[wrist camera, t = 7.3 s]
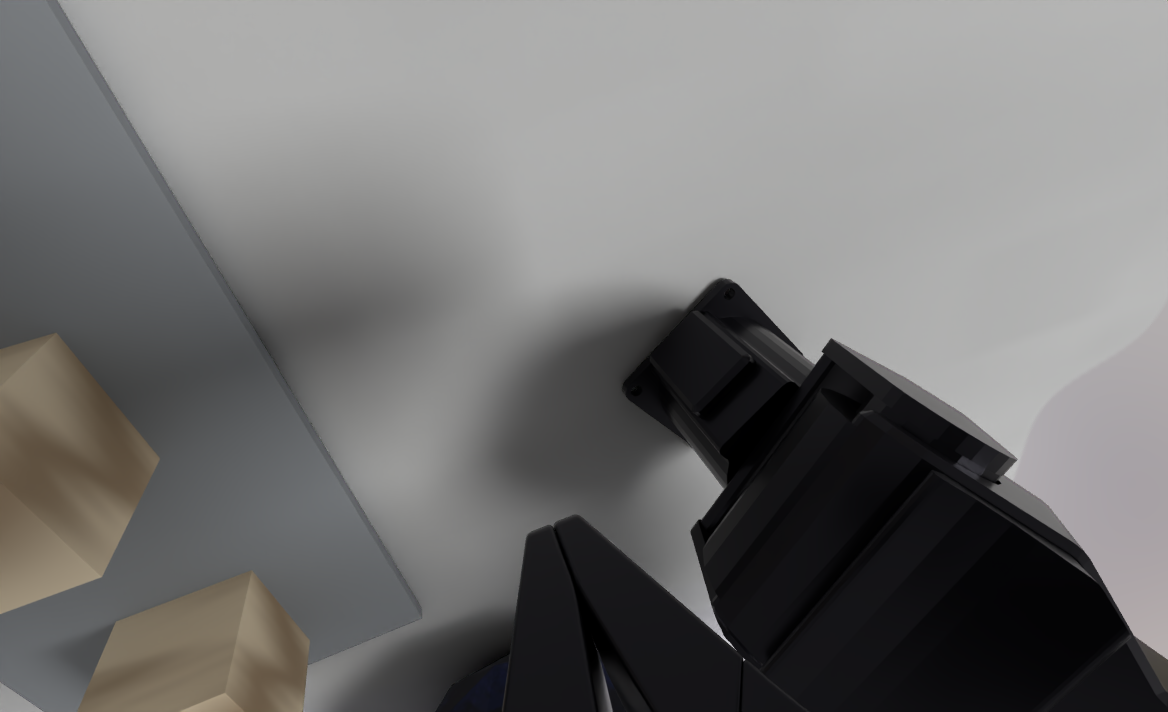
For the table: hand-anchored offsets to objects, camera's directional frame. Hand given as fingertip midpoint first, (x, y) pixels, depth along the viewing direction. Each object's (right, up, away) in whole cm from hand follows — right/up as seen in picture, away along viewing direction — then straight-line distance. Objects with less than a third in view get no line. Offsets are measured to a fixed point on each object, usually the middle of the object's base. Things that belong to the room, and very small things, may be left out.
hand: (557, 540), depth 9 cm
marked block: (-14, -8, +14) cm, 22 cm away
